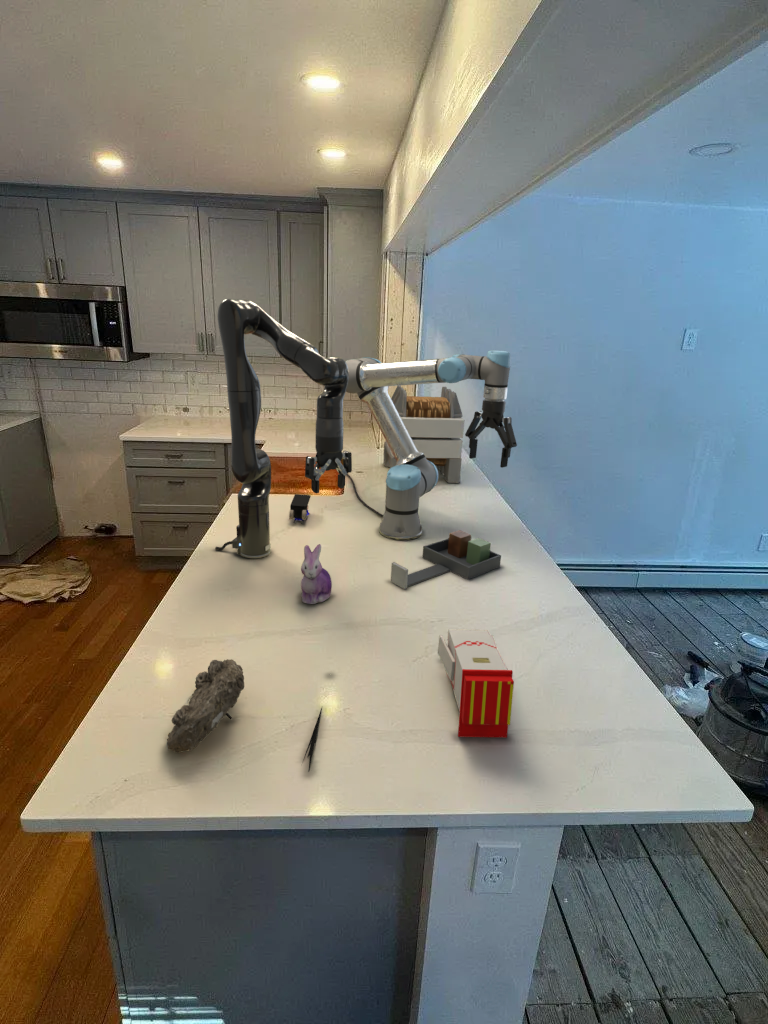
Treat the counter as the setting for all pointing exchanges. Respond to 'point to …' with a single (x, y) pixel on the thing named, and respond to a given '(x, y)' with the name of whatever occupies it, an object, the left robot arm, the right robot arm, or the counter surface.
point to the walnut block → (458, 543)
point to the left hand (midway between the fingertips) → (328, 490)
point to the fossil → (206, 705)
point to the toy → (478, 682)
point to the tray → (442, 566)
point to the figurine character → (299, 507)
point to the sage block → (478, 551)
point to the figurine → (314, 578)
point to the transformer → (432, 430)
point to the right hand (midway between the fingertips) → (487, 462)
